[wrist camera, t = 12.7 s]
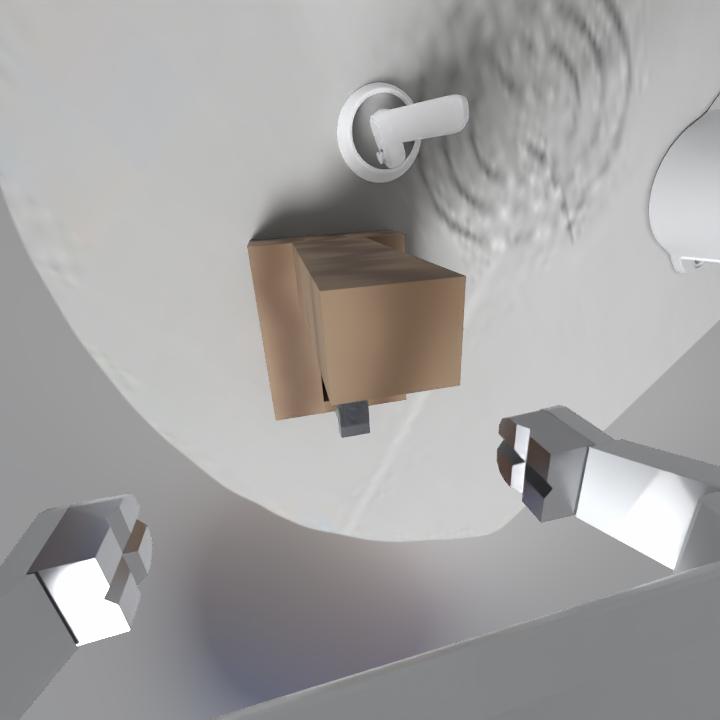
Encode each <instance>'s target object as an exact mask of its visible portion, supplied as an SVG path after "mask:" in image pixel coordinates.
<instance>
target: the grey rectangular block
mask: <svg viewBox="0 0 720 720" xmlns="http://www.w3.org/2000/svg"><path fill="white" fill-rule="evenodd" d="M334 408H335V411H336V415H337V418H338V423H339V431H340V434H341V437H342V438H343V437H349V436H355V435H360V434H366V433H370V427H369V410H368V400H364V401H357V402H351V403H345V404H338V405H334Z"/></svg>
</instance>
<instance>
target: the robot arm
mask: <svg viewBox="0 0 720 720" xmlns="http://www.w3.org/2000/svg"><path fill="white" fill-rule="evenodd" d="M649 218H650V225H651V229H652V232H653V234H654V236H655V238H656V240H657V241H658V242H659V244H660V245H661V246H662V247H663V248H665V249H666V250H667V251H668V252H669V254H670V256H671V260H672V263H673V266H674V269H675V270H676V271H677V272H679V273H691V272H694V271H697V270H700V269H703V268H706V267H708V266H711V265H714V264H717V263H720V94H719V96H718V97H717V98H716V100H715V101H714V103H713V104H712V105H711V107H710V108H709V110H708V111H707V112H706V113H705V114H704V115H703V116H702V117H701V118H700V119H698V120H697V121H696V122H695V123H693V124H692V125H691V126H690V127H688V128H687V129H686V130H685V131H684V132H683V133H682V134H681V135H680V136H679V138H678V139H677V140H676V141H675V142H674V144H673V145H672V146H671V148H670V149H669V151H668V152H667V154H666V156H665V157H664V159H663V161H662V163H661V165H660V167H659V169H658V172H657V174H656V177H655V179H654V183H653V186H652V190H651V195H650V202H649ZM499 435H500V436H501V437H502V438H503V441H502V443H501V444H500V446H499V447H498V449H497V464H498V467H499V471H500V473H501V475H502V477H503V479H504V480H505V482H506V483H507V484H508V485H509V487H510V488H512V489H515V490H517V491H519V492H521V493H522V502H523V503H524V504H525V505H526V506H527V507H528V508H529V510H530V511H531V512H532V513H533V514H534V515H535V516H536V518H537V519H538V520H539V521H540V522H541V523H542V522H546V521H550V520H555V519H559V518H564V517H568V516H572V515H576V517H577V518H579V519H581V520H583V521H585V522H587V523H588V524H590V525H592V526H594V527H596V528H598V529H599V530H601V531H603V532H605V533H607V534H608V535H610V536H612V537H614V538H616V539H618V540H619V541H621V542H623V543H625V544H627V545H629V546H631V547H632V548H634V549H636V550H638V551H640V552H641V553H643V554H645V555H647V556H649V557H651V558H653V559H654V560H656V561H658V562H660V563H662V564H664V565H665V566H667V567H669V568H671V569H673V570H674V571H673V574H672V575H671V576H668V577H665V578H662V579H658V580H655V581H652V582H649V583H646V584H642V585H639V586H636V587H633V588H630V589H626V590H623V591H620V592H617V593H613V594H611V595H607V596H604V597H601V598H598V599H594V600H591V601H588V602H585V603H581V604H579V605H575V606H572V607H569V608H565V609H562V610H559V611H556V612H553V613H549V614H546V615H543V616H540V617H537V618H534V619H530V620H527V621H524V622H521V623H518V624H515V625H511V626H508V627H505V628H502V629H499V630H496V631H492V632H489V633H486V634H483V635H479V636H476V637H473V638H470V639H466V640H463V641H460V642H457V643H454V644H450V645H447V646H444V647H441V648H438V649H435V650H431V651H428V652H425V653H421V654H418V655H415V656H412V657H409V658H406V659H402V660H399V661H396V662H392V663H389V664H386V665H383V666H380V667H377V668H373V669H370V670H367V671H363V672H360V673H357V674H354V675H351V676H347V677H344V678H341V679H338V680H335V681H331V682H328V683H325V684H321V685H318V686H315V687H312V688H309V689H306V690H302V691H299V692H296V693H293V694H289V695H286V696H283V697H279V698H276V699H273V700H270V701H267V702H263V703H260V704H257V705H254V706H251V707H247V708H244V709H241V710H238V711H235V712H232V713H228V714H225V715H222V716H218V717H215V718H212V719H209V720H720V466H717V465H713V464H709V463H706V462H702V461H699V460H695V459H691V458H688V457H684V456H681V455H677V454H673V453H669V452H666V451H663V450H659V449H655V448H652V447H648V446H644V445H641V444H637V443H634V442H630V441H627V440H622V439H621V440H615V439H613V438H612V437H610V436H609V435H607V434H606V433H604V432H603V431H601V430H600V429H598V428H597V427H595V426H594V425H592V424H591V423H589V422H588V421H586V420H585V419H583V418H582V417H580V416H579V415H577V414H576V413H574V412H573V411H571V410H570V409H568V408H567V407H565V406H560V405H558V406H554V407H549V408H545V409H541V410H540V411H535V412H530V413H525V414H521V415H516V416H511V417H506V418H502V420H501V422H500V424H499ZM139 511H140V506H139V504H138V502H137V500H136V498H135V496H133V495H131V494H125V495H119V496H113V497H108V498H102V499H97V500H91V501H86V502H80V503H75V504H70V505H65V506H60V507H55V508H50V509H46V510H44V511H43V512H41V513H39V514H38V515H37V517H36V518H35V519H34V521H33V522H32V523H31V525H30V526H29V528H28V529H27V530H26V532H25V533H24V534H23V536H22V537H21V539H20V540H19V541H18V543H17V544H16V545H15V547H14V548H13V550H12V551H11V552H10V554H9V555H8V556H7V558H6V559H5V561H4V562H3V563H2V565H1V566H0V720H19V719H20V718H21V716H22V715H23V714H24V713H25V712H26V710H27V709H28V708H29V707H30V706H31V705H32V703H33V702H34V701H35V700H36V699H37V697H38V696H39V695H40V694H41V693H42V691H43V690H44V689H45V688H46V686H47V685H48V684H49V683H50V682H51V680H52V679H53V678H54V677H55V676H56V674H57V673H58V672H59V671H60V670H61V668H62V667H63V666H64V665H65V663H66V662H67V661H68V660H69V659H70V657H71V656H72V655H73V654H74V652H75V651H76V650H77V649H78V647H77V646H78V645H81V644H85V643H87V642H91V641H95V640H98V639H101V638H105V637H108V636H112V635H115V634H119V633H122V632H126V631H129V630H130V629H131V626H132V623H133V620H134V617H135V613H136V610H137V607H138V604H139V601H140V598H141V594H140V592H139V589H138V587H137V585H138V584H139V583H140V582H141V581H142V580H143V579H144V578H145V577H146V576H147V575H148V572H149V568H150V565H151V561H152V540H151V535H150V532H149V529H148V526H147V525H146V524H144V523H142V522H140V521H138V520H137V516H138V514H139Z"/></svg>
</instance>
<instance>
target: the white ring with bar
mask: <svg viewBox="0 0 720 720" xmlns="http://www.w3.org/2000/svg"><path fill="white" fill-rule="evenodd" d="M377 93H390V94H393V95H395V96H397V97H398V98H400V99H401V100H402V101H403V102H404V103H405V104H406V105H407V106H403V107H399V108H394V109H380V110H377V111H376V112H375V113H374V114H373V115H371V117H370V125H371V129H372V133H373V135H374V138H375V141H376V143H377V146H378V149H379V152H377V158H378V161H379V162H380V164H382V163H383V161H384V163H385V164H386V166H387V167H388V168H391V169H378V168H375V167H372V166H371V165H369V164H367V163H366V162H365V161H364V160H363V159H362V158H361V156H360V155H359V154H358V152H357V150H356V148H355V145H354V142H353V136H352V125H353V120H354V116H355V114H356V111H357V110H358V108H359V106H360V105H361V104H362V103H363V102H364V101H365V100H366V99H367V98H369V97H370V96H372V95H374V94H377ZM468 119H469V106H468V101H467V99H466V98H465V97H464V96H463V95H449V96H444V97H440V98H436V99H432V100H428V101H423V102H419V103H415V104H414V103H413V101H412V100H411V98H410V97H409V96H408V95H407V94H406V93H405V92H404V91H402V90H401V89H399V88H398V87H396V86H393V85H391V84H388V83H381V82H377V83H370V84H367V85H365V86H362V87H361V88H359V89H358V90H356V91H355V92H354V93H353V94H352V95H351V96H350V97H349V98H348V99H347V101H346V103H345V104H344V106H343V108H342V110H341V113H340V115H339V120H338V125H337V138H338V145H339V148H340V151H341V155H342V156H343V158H344V160H345V162H346V164H347V165H348V166H349V168H350V169H351V170H352V171H353V172H354V173H355V174H357V175H358V176H359V177H361V178H363V179H365V180H367V181H371V182H377V183H383V182H389V181H392V180H394V179H397V178H398V177H400V176H401V175H403V174H404V173H405V172H406V171H407V170H408V169H409V168H410V167H411V165H412V164H413V162H414V161H415V158H416V156H417V154H418V152H419V148H420V144H421V139H426V138H431V137H437V136H443V135H449V134H454V133H458V132H460V131H461V130H462V129H463V128H464V127H465V126H466V124H467V122H468ZM414 140H415V142H414V145H413V149H412V151H411V153H410V154H409V156H408V157H407V159H406V160H405V149H404V145H403V142H408V141H414ZM404 160H405V161H404ZM403 161H404V162H403Z"/></svg>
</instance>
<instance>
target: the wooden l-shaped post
mask: <svg viewBox="0 0 720 720" xmlns="http://www.w3.org/2000/svg"><path fill="white" fill-rule="evenodd" d="M247 248H248V254H249V260H250V266H251V272H252V278H253V284H254V290H255V296H256V302H257V308H258V314H259V321H260V327H261V333H262V339H263V345H264V351H265V357H266V363H267V369H268V375H269V381H270V387H271V394H272V400H273V406H274V412H275V418H276V420H282V419H289V418H295V417H301V416H307V415H313V414H320V413H326V412H332V411H335V408H334V405H338V404H345V403H351V402H357V401H364V400H368V406H369V405H376V404H382V403H388V402H394V401H401V400H406V394H408V393H414V392H421V391H427V390H433V389H440V388H446V387H452V386H459V385H460V374H461V356H462V338H463V320H464V302H465V284H466V276H464V275H461V274H459V273H456V272H454V271H451V270H448V269H446V268H443V267H441V266H438V265H435V264H433V263H430V262H428V261H425V260H422V259H420V258H417V257H415V256H412V255H409V254H407V253H405V234H403V233H398V232H394V231H390V230H381V231H368V232H355V233H342V234H329V235H316V236H303V237H290V238H277V239H264V240H251V241H250V242H249V244H248V246H247Z"/></svg>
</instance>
